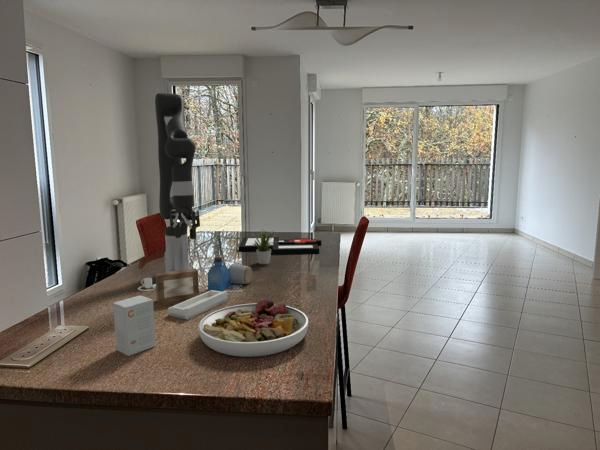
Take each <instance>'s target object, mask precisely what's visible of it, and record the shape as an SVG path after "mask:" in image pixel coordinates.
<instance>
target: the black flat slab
mask: <svg viewBox="0 0 600 450" xmlns="http://www.w3.org/2000/svg"><path fill="white" fill-rule="evenodd" d="M256 237H257V238H258V240H259V242H260V243H261V236H260V237H259V236H256ZM272 237H273V236H271V237H269V238H270V239H271V238H272ZM266 238H267V237H266ZM254 240H255V241H256V242H257V243H258V244H259V242H258V241H257V239H256V238H255V237H254V236H253V237H251V236H250V237H249V236H247V237H243V238H242V240H241V241H240V243H239V245H238V251H239V252H241V253H242V252H256V250H257V249H258V247H259V246H258V247H257V246H255V245H253V244H255V241H254ZM275 241H277V242H275ZM268 242H269V243H270V242H274V243H270V244H272V245H270V246H269V245H268V247H267V249H271V252H272V255H308V254H309V255H311V254H312V255H313V254H314V255H315V254H317V255H318V254H320V247H319V246H322V240H321V239H316V238H312V239H311V238H310V237H308V238H305V237H304V238H302V237H301V238H299V237H298V238H296V237H295V238H294V239H292V238H291V239H280V237H279V236H274V237H273V238H272V239H271V240H269V241H268ZM269 243H268V244H269ZM256 245H257V244H256ZM259 245H260V244H259Z"/></svg>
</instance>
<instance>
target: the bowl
mask: <svg viewBox="0 0 600 450" xmlns="http://www.w3.org/2000/svg"><path fill="white" fill-rule="evenodd" d="M308 328H309V318H308V316H307V315H306V314H305V313H304V311H302V310H300V309H298V308H295V307H291V306H288V305H286V304H285V303H284V302H282V301H281V302H280V301H279V302H276V303H275V302H274V300H273V299H271V298H270V297H267V296H265V297H261V298H260V299H259V300H258V301H257V302H255V303H254V302H253V303H244V304H236V305H230V306H226V307H224V308H223V307H222V308H220V309H217V310H214V311H213V312H209V314H207V315H205V316H204V317H203V318H202V319H201V320H200V321H199V323H198V332H199V333H198V334H199V336H200V338H201V340H202V342H203V343H204V344H205V345H206V346H207V347H208V348H210V349H211V350H213V351H215V352H217V353H220V354H222V355H223V354H224V355H228V356H234V357H245V358H246V357H247V358H249V357H250V358H252V357H263V356H270V355H274V354H278V353H281V352H284V351H287V350H290V349H291V348H293V347H295V346H296V345H298V344H299V343H301V341H302V340H303V339H304V338H305V336H306V334H307V332H308Z"/></svg>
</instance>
